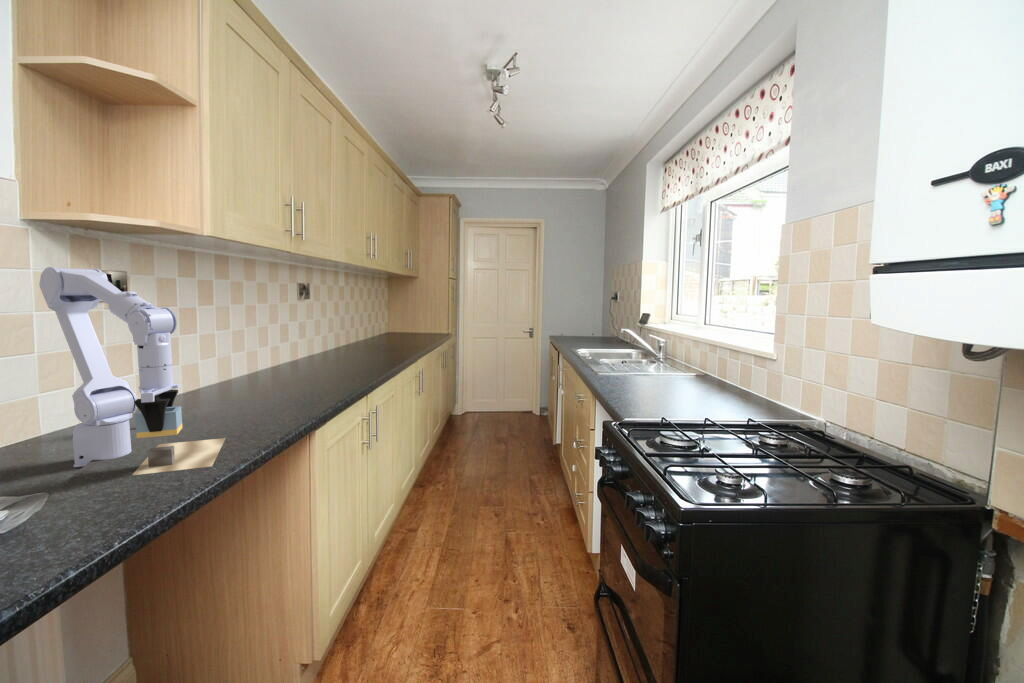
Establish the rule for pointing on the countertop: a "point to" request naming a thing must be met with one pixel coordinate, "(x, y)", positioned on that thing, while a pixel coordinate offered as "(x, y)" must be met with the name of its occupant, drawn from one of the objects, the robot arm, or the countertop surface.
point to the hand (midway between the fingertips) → (159, 427)
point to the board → (180, 456)
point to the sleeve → (169, 428)
